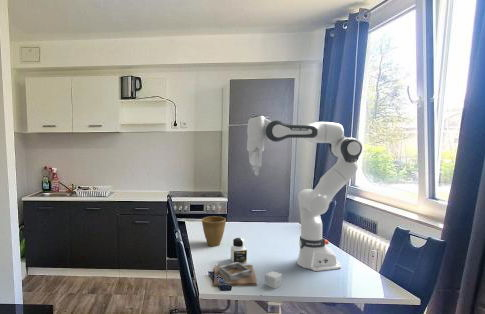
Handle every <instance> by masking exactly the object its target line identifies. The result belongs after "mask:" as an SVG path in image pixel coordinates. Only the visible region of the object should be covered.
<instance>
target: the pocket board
mask: <svg viewBox="0 0 485 314" xmlns="http://www.w3.org/2000/svg"><path fill="white" fill-rule="evenodd" d="M215 274H216V275H220V276H221V278H223V279H225V281H226V282H227V283H228V284H230V285H231V286H230V287H245V286H247V287H248V286H252V287H253V286H257V285H258V281H257V278H256V274H255V271H254V266H253V264H248V265H247V264H244V263H239V262H235V263H233V262H232V263H228V264H224V265H222V264H221V265H214V279H213V281H214V283H213V286H214V287H218V286H217V285H218V284H222V283H220V282H218V281H217V277H216V276H215Z"/></svg>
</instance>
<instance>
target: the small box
mask: <svg viewBox="0 0 485 314" xmlns="http://www.w3.org/2000/svg"><path fill="white" fill-rule="evenodd" d="M264 276H265V277H264V285H265V286H267V287H269V288H272V289H277V288H279V287H280V286H281V285H282V284H283V283H282V282H283V274H282V273H279V272H276V271H274V270H270V271H269V272H268V273H265V275H264Z"/></svg>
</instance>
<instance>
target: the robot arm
mask: <svg viewBox="0 0 485 314" xmlns="http://www.w3.org/2000/svg"><path fill="white" fill-rule="evenodd" d="M246 133H247V134H246V135H247V141H246V142H247V143H246V151H248V158H249V159H248V160H249V161H248V162H249V164H250V165H251V173H252V174H254V175H255V176H259V175H260V174H259V173H260V168H261V167H262V165H263V161H262V160H263V159H262V158H263V155H262V152H264V151H265V141H269V142H274V143H275V142H281V141H284V140H286V139H306V140H307V141H308V142H311V143H315V144H328V147H329V152H330V154H331V155H332V156H333V157H335V158H337V160H336V163H335V164H334V165H333V166H332V167H330V169H328V170H327V171H326V172H325V173H324V174H323V175H322V176H321V177H320V178H319V180H318V181H319V182H318V183H317V185H316V186H315V188H306V189H304V188H303V190H301V191H300V192H299V193H298V196H297V200H298V207H299V216H300V236H299V241H298V243H299V253H298V257H297V259H296V263H297V265H298V266H300V267H302V268H305V269H309V270H312V271H314V272H320V271H329V270H337V269H338V270H339V269H341V268H342V264H341V262H340V261H339V260H337V255H336V253H335V252H334V251H333V250H332V249H331V248H330V247H329V246H327V245H329V243H330V242H329V240H328V239H326V238H324V237H323V221H322V218H321V217H322V216H321V215H324V214H325V213H327V211H328V210H329V207H330V204H331V202H332V200H333V199H334V197H335V196H336V194H337V193H338V192H339V191H340V190H341V189H342V188H343V187H344V186H345V185H346V184H347V183H348V182H349V181H350V180H351V179H352V178H353V176H354V175H355V173H357V170H358V164H357V161H358V160H359V157H360V156H361V154H362V151H363V144H362V142H361V141H359V139H357V138H355V137H346V136H345V130H344V127H343V125H342V124H340V123H337V122H330V121H315V122H310V123H307V124H302V125H301V124H288V123H285V122H283V121H281V120H273V121H271V120H269V119H267V118H266V117H264V115H254V116H251V117H250V118H249V119H248V121H247V132H246Z"/></svg>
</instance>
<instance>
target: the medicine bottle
mask: <svg viewBox="0 0 485 314" xmlns="http://www.w3.org/2000/svg"><path fill="white" fill-rule="evenodd" d="M232 242H233V243H232V245H231V246H230V260H231V262H232V263H235V262H239V263H241V264H245V263H247V262H248V261H247V260H248V258H247V257H248V252H247V251H248V249H247V248H246V247H245V239H244V238H242V237H236V238H233V241H232Z"/></svg>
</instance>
